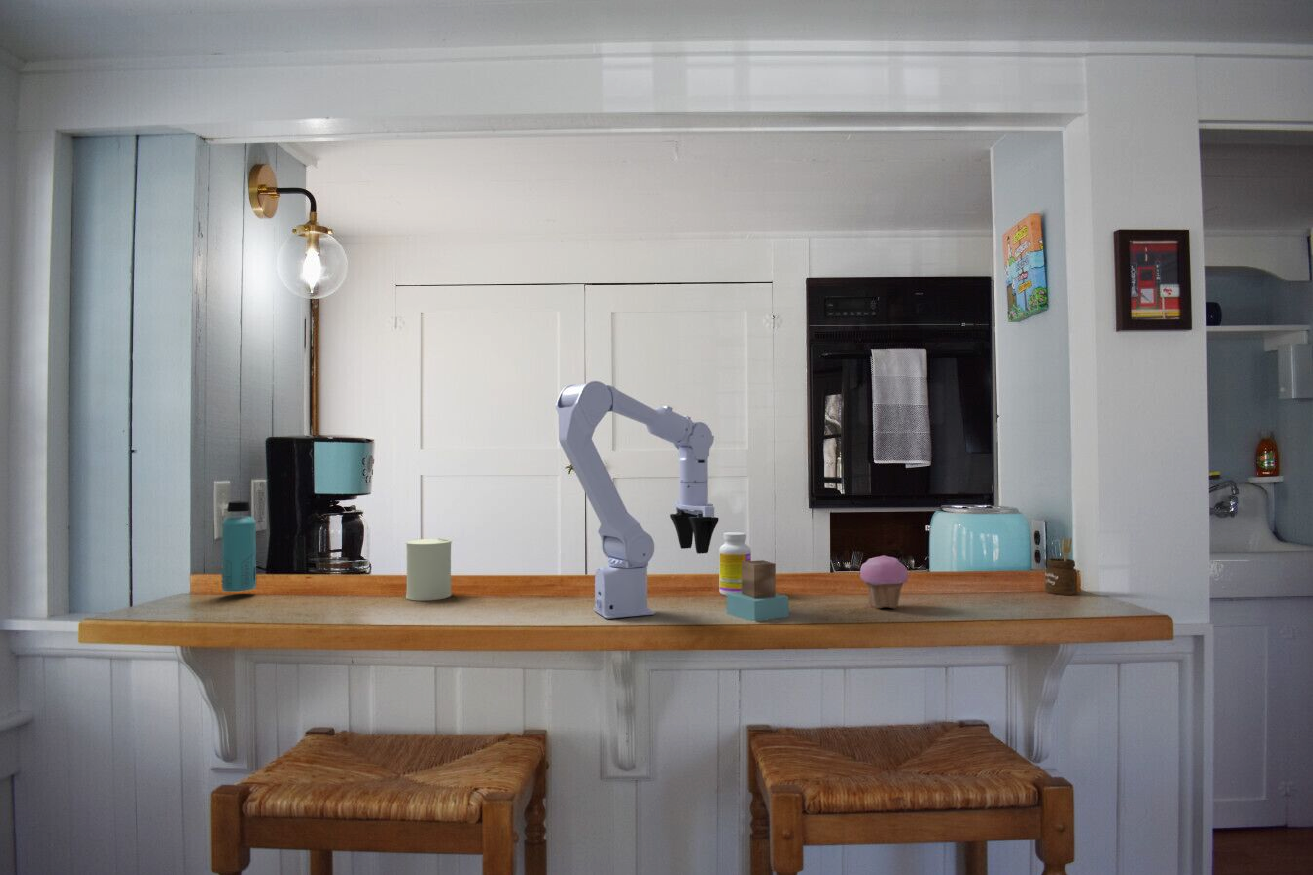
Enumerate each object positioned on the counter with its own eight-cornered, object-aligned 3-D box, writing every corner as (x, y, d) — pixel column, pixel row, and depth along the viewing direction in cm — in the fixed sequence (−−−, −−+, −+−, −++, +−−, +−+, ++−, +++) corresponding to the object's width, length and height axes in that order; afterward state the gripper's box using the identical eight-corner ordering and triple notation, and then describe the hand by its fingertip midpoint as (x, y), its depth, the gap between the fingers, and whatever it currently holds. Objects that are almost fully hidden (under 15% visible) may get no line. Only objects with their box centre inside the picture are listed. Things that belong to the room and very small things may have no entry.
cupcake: (902, 603, 145) (901, 552, 145) (913, 613, 136) (913, 559, 137) (856, 602, 146) (855, 552, 146) (864, 612, 137) (864, 558, 137)
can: (455, 598, 151) (455, 540, 152) (409, 602, 147) (409, 542, 148) (447, 590, 160) (447, 535, 160) (403, 594, 156) (403, 537, 156)
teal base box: (754, 623, 130) (754, 601, 130) (726, 615, 136) (726, 593, 137) (788, 618, 134) (788, 596, 134) (760, 610, 141) (759, 589, 141)
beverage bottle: (259, 596, 154) (259, 500, 154) (222, 600, 150) (223, 502, 150) (254, 591, 159) (254, 499, 159) (218, 595, 155) (219, 500, 155)
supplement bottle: (749, 597, 151) (749, 535, 151) (717, 596, 152) (717, 534, 153) (751, 591, 158) (751, 531, 158) (721, 590, 159) (721, 531, 159)
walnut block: (754, 598, 132) (753, 564, 132) (742, 593, 136) (742, 561, 137) (775, 596, 134) (775, 563, 134) (763, 592, 138) (763, 560, 138)
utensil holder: (1069, 590, 158) (1068, 534, 158) (1083, 596, 152) (1082, 538, 152) (1040, 590, 158) (1039, 534, 159) (1053, 595, 152) (1052, 537, 152)
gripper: (728, 483, 141) (728, 554, 141) (695, 480, 154) (696, 545, 154) (695, 484, 138) (695, 556, 138) (665, 481, 152) (665, 547, 152)
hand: (693, 550), depth 146 cm, fingers open, 7 cm apart
